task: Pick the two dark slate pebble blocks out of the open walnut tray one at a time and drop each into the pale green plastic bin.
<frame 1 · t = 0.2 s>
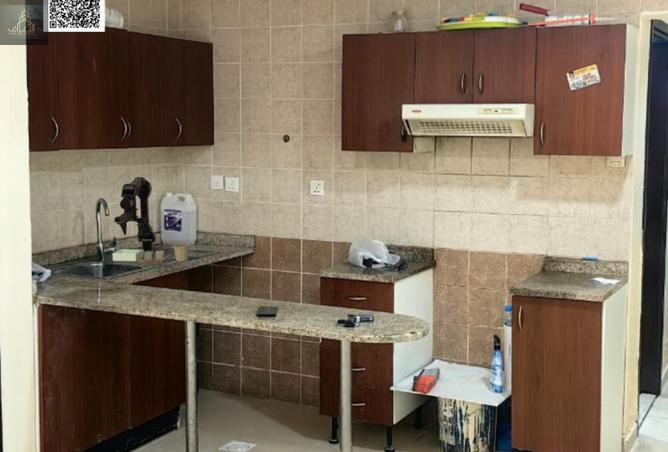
hand: (132, 235, 534), 14 cm above the countertop, fingers open, 9 cm apart
bin: (128, 259, 540), on the countertop
tray: (154, 259, 539), on the countertop
pebble b: (159, 258, 539), point 1 cm above the countertop, touching tray
flower pot: (181, 261, 535), on the countertop
pebble a: (149, 258, 539), point 1 cm above the countertop, touching tray
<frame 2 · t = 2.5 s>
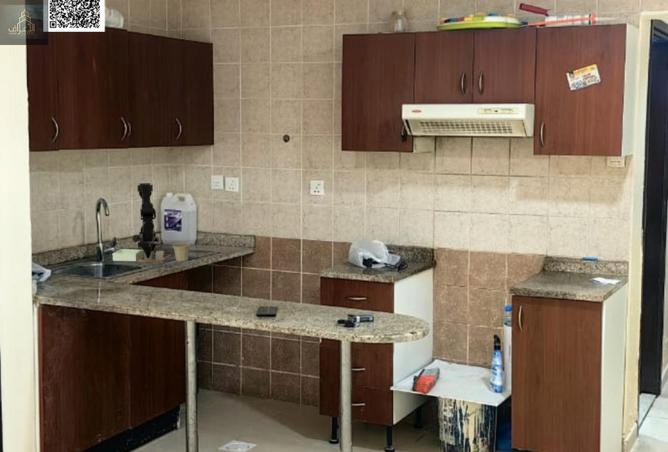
hand: (149, 257, 539), 1 cm above the countertop, fingers closed on pebble a, 4 cm apart
pebble a: (149, 258, 539), point 1 cm above the countertop, touching gripper, tray
everything else where it was.
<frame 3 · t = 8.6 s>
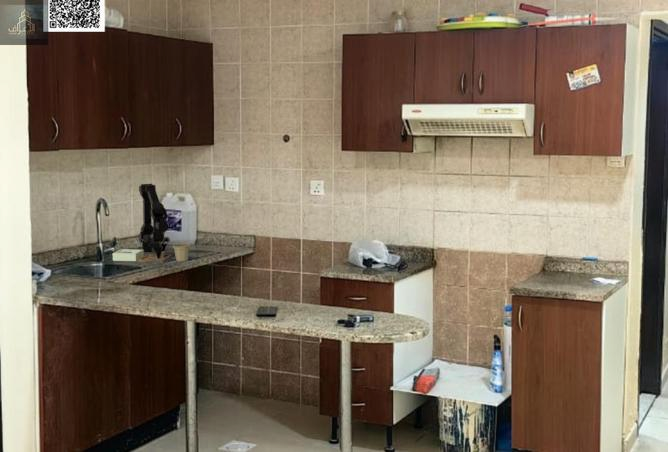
hand: (159, 257, 538), 1 cm above the countertop, fingers closed on pebble b, 4 cm apart
pebble b: (159, 258, 539), point 1 cm above the countertop, touching gripper, tray
pebble a: (127, 259, 538), point 1 cm above the countertop, touching bin
everything else where it was.
when the fingers open (5 cm above the countertop, at t = 11.6 s): pebble b drops 4 cm, resting on bin.
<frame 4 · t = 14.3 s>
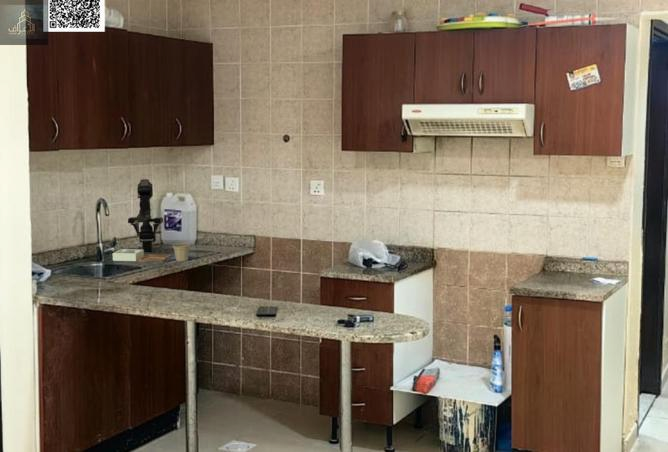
hand: (146, 235, 546), 12 cm above the countertop, fingers open, 9 cm apart
pebble b: (130, 257, 543), point 1 cm above the countertop, touching bin
everything else where it was.
at the end: pebble a inside the target area on the bin (2.5 cm from its centre), point 0.6 cm above the bin's base; pebble b inside the target area on the bin (2.5 cm from its centre), point 0.6 cm above the bin's base; the gripper is holding nothing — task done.
